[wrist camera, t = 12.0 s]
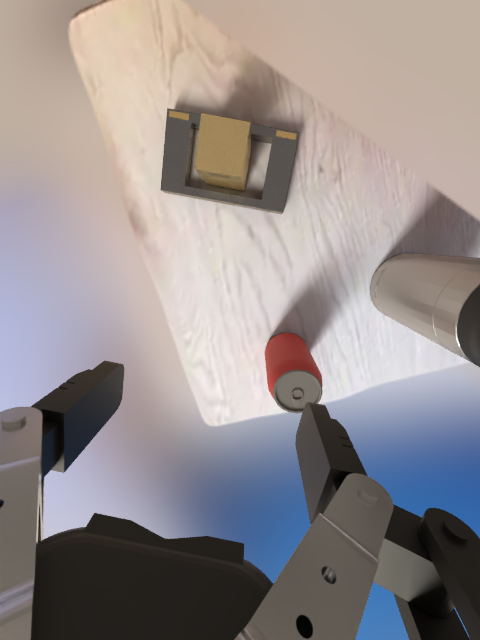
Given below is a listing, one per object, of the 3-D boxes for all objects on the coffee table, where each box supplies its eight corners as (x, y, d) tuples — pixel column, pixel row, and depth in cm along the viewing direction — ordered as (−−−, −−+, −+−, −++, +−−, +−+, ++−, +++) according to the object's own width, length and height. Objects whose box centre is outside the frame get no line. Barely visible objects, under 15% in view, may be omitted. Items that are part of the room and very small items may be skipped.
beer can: (264, 370, 43) (267, 416, 31) (265, 331, 41) (269, 365, 30) (305, 370, 43) (324, 418, 31) (308, 331, 41) (329, 366, 29)
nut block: (251, 148, 34) (250, 121, 27) (244, 191, 36) (241, 177, 28) (213, 141, 34) (201, 112, 27) (207, 184, 36) (194, 168, 28)
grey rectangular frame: (296, 138, 34) (299, 132, 32) (281, 214, 36) (283, 212, 34) (172, 116, 34) (167, 108, 32) (165, 192, 36) (160, 189, 34)
